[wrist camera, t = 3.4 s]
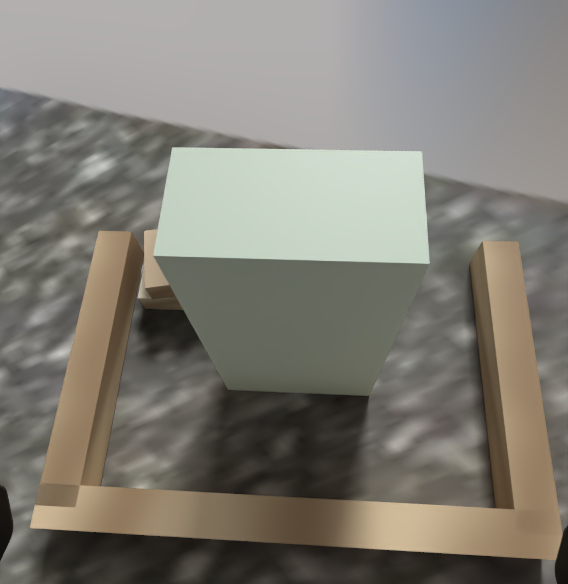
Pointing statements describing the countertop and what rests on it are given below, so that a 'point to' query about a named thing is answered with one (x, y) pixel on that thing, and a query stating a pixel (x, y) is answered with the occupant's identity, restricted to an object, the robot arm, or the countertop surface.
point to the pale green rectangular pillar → (294, 261)
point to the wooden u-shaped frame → (292, 510)
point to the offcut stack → (155, 280)
